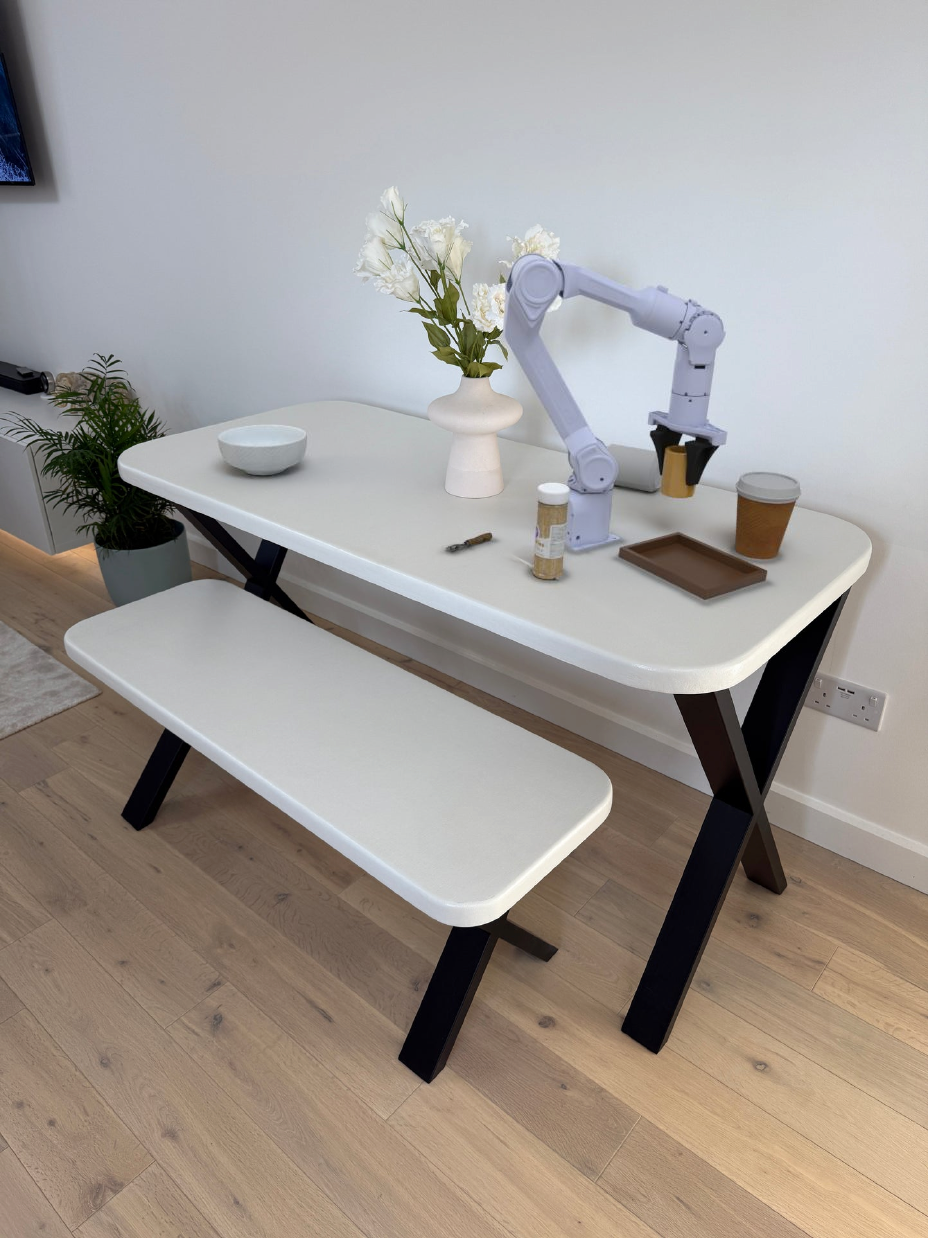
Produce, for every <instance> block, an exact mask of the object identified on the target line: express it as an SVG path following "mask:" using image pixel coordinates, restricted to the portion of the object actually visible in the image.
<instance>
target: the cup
mask: <svg viewBox="0 0 928 1238" xmlns="http://www.w3.org/2000/svg"><path fill="white" fill-rule="evenodd" d="M686 471H687V454H686V449H685V445H684V444H679V445H672V446H668V447H667V448H666V449H665V456H664V464H663V472H662V480H661V486H660V487H659V489H660V490H659V492H660V493H661V494H662V495H663V496H666V497H669V498H675V499H689V498H692V497H693V496H694V495H695V494H696V489H697V488H696V487H697V485H692V486H688V485H686Z"/></svg>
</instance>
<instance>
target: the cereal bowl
mask: <svg viewBox="0 0 928 1238" xmlns="http://www.w3.org/2000/svg"><path fill="white" fill-rule="evenodd" d="M217 443H218V449H219V453H220V454H221V457H222V458H223V460H225V462H227V463H228V464H229V465H230V466H232V467H235V468H237V469H240V470H243V471H244V472H245V473H246V474H250V475H253V476H271V475H272V476H273V475H278V474H281V473H283V472H284V471H286V469H288V468H291V467H293V466H295V465H296V464H298V463H299V462H300V461H301V460H302V459H303V458H304V456H305V454H306V451H307V447H308V435H307V432H306V431H305V430H304V429H301V428H299V427H296V426H291V425H285V424H252V425H245V426H242V425H241V426H236V427H232V428H229V429H226V430H224V431H223V430H222V431H221V432H220V433H219V434H218V435H217Z"/></svg>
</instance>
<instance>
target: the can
mask: <svg viewBox="0 0 928 1238" xmlns="http://www.w3.org/2000/svg"><path fill="white" fill-rule="evenodd" d="M605 446H606V445H605ZM606 448H607V450H608V452H609V453H610V455H611V456H613V457H614V459H615V460H616V462H617V465H618V475H617V478H616V480H615V482H614V486H618V487H624V488H627V489H628V488H629V489H634V490H638V491H644V492H648V493H653V492H655V491H656V490H658V489H660V488H661V480H662V476H661V475H660V472H659V464H658V458H657V453H656V450H652V449H646V448H639V447H633V446H628V445H622V444H617V443H610V444H609V445H607V446H606Z"/></svg>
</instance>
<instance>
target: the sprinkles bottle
mask: <svg viewBox="0 0 928 1238" xmlns="http://www.w3.org/2000/svg"><path fill="white" fill-rule="evenodd" d="M566 485H567V484H564V483H560V482H544V483H541V484H539V485H538V486H537V490H536V499H537V511H536V513H537V514H536V516H537V517H536V524H535V538H534V549H533V550H534V557H533V567H532V574H533V575H534V576H535V577H536V578H539V579H541V580H555V579H556V578H559V577H561V576H562V575H563V574H564V570H563V568H564V567H563V565H564V556H565V549H566V546H565V539H566V526H567V509H568V501H569V498H570V488H569V487H568V486H566Z"/></svg>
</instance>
